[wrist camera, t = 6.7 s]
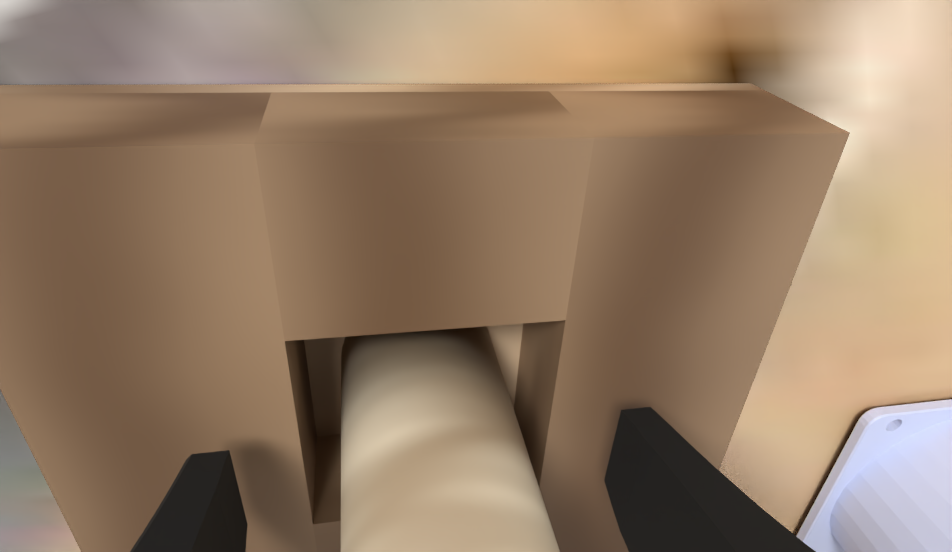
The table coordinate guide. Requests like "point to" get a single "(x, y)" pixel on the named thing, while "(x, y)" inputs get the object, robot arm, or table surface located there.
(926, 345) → the table surface
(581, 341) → the socket block
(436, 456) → the dowel
